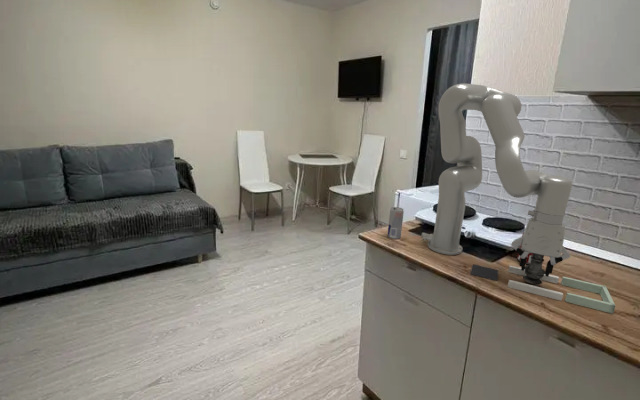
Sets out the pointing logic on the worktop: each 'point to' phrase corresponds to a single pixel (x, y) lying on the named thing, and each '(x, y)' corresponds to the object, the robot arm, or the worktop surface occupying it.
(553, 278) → the channel
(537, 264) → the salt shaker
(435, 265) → the worktop surface
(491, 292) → the worktop surface
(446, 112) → the robot arm
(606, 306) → the frame
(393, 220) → the energy drink
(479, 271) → the dark grey coaster
